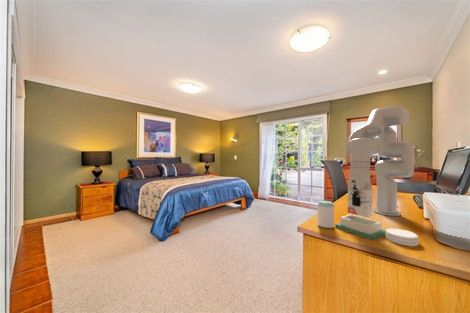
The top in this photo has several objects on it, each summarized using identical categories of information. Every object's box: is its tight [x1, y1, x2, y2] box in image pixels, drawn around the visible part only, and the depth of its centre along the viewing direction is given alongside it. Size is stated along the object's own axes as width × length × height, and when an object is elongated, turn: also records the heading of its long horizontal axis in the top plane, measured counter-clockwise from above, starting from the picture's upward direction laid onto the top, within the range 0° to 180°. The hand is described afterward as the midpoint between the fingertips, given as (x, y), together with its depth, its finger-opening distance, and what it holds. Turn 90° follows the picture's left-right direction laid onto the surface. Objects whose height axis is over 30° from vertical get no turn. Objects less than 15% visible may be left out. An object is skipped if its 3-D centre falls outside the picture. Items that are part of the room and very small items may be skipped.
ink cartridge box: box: [347, 182, 373, 218], centre depth 88 cm, size 9×5×15 cm, turn 34°
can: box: [317, 200, 335, 229], centre depth 93 cm, size 7×7×12 cm
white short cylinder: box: [385, 227, 419, 247], centre depth 78 cm, size 10×10×4 cm
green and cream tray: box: [334, 213, 387, 241], centre depth 88 cm, size 12×16×5 cm
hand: (359, 204), depth 88 cm, fingers closed on ink cartridge box, 5 cm apart
